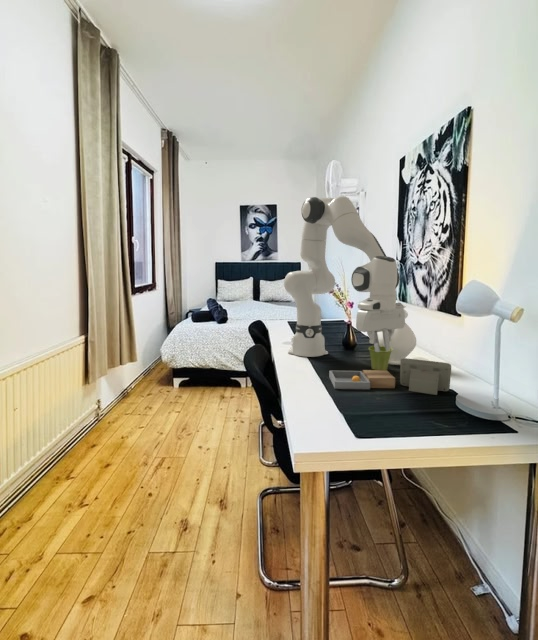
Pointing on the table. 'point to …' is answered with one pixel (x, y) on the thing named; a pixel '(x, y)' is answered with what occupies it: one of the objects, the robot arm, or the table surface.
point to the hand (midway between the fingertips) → (380, 342)
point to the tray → (348, 380)
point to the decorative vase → (400, 342)
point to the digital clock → (425, 375)
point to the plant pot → (379, 358)
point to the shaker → (386, 340)
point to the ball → (356, 379)
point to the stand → (380, 378)
